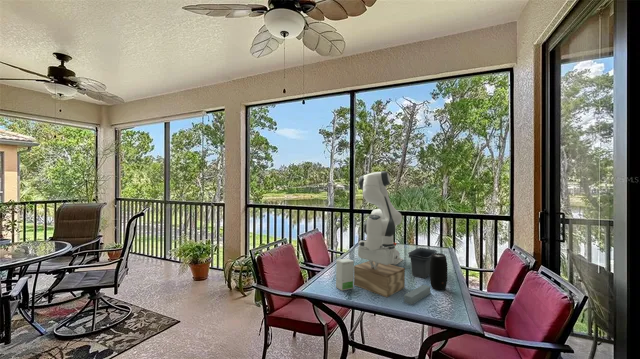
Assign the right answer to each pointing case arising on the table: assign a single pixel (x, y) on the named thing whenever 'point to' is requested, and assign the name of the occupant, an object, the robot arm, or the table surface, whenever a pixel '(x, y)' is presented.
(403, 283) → the box
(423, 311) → the table surface
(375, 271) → the lid
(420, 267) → the storage bin
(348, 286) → the skincare box
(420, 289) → the grey rectangular bar
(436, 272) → the portable speaker
